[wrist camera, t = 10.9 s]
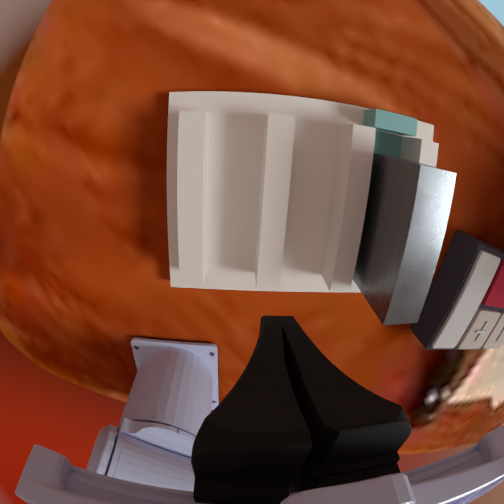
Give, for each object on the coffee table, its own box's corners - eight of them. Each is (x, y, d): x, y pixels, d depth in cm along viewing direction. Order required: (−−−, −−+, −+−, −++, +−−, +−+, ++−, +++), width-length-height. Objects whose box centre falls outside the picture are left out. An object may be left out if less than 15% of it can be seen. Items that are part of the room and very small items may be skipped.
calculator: (500, 352, 25) (428, 355, 22) (482, 332, 29) (407, 328, 26) (542, 273, 21) (484, 246, 18) (519, 258, 25) (454, 228, 22)
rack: (397, 286, 24) (415, 307, 21) (173, 280, 23) (163, 304, 20) (426, 124, 19) (453, 126, 15) (172, 93, 18) (159, 87, 14)
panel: (375, 271, 22) (417, 322, 16) (347, 271, 22) (383, 325, 15) (396, 156, 19) (456, 173, 12) (365, 151, 18) (420, 164, 12)
